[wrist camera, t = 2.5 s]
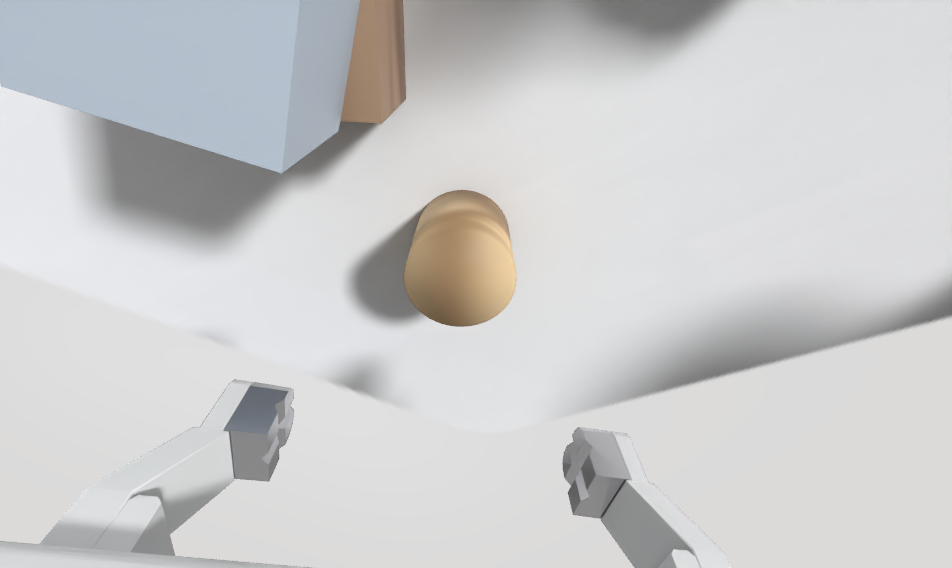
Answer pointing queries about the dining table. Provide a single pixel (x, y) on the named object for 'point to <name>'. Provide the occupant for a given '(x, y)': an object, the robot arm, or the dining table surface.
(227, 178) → the dining table surface
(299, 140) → the tower top block
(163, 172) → the dining table surface
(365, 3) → the tower base
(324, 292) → the dining table surface
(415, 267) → the beech cylinder
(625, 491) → the robot arm
